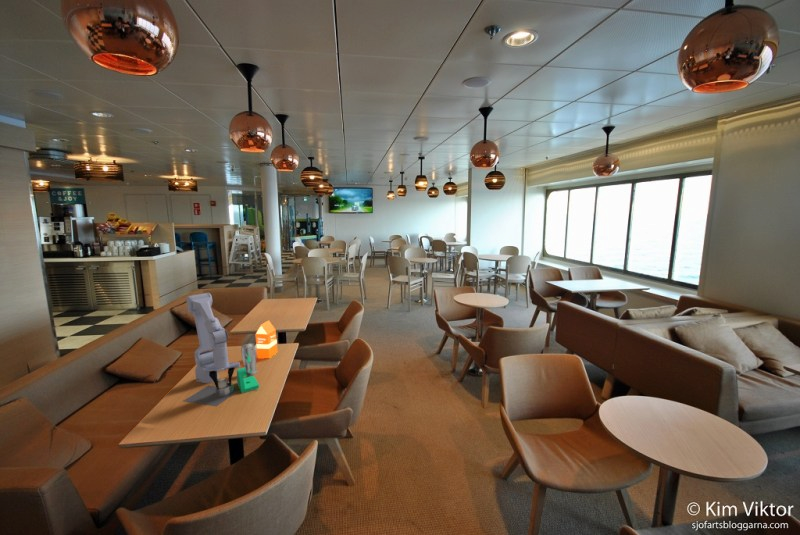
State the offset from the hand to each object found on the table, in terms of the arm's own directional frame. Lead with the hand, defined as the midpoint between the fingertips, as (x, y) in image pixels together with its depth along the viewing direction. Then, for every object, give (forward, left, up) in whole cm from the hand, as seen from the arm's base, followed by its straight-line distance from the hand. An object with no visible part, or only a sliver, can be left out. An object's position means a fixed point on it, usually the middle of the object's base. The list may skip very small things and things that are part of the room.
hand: (223, 384), depth 150 cm
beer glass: (-3, +21, -5) cm, 22 cm away
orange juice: (-9, +43, -5) cm, 44 cm away
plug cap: (0, 0, -4) cm, 4 cm away
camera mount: (+6, +8, -5) cm, 11 cm away
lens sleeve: (0, 0, -5) cm, 5 cm away
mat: (-4, -3, -5) cm, 7 cm away
